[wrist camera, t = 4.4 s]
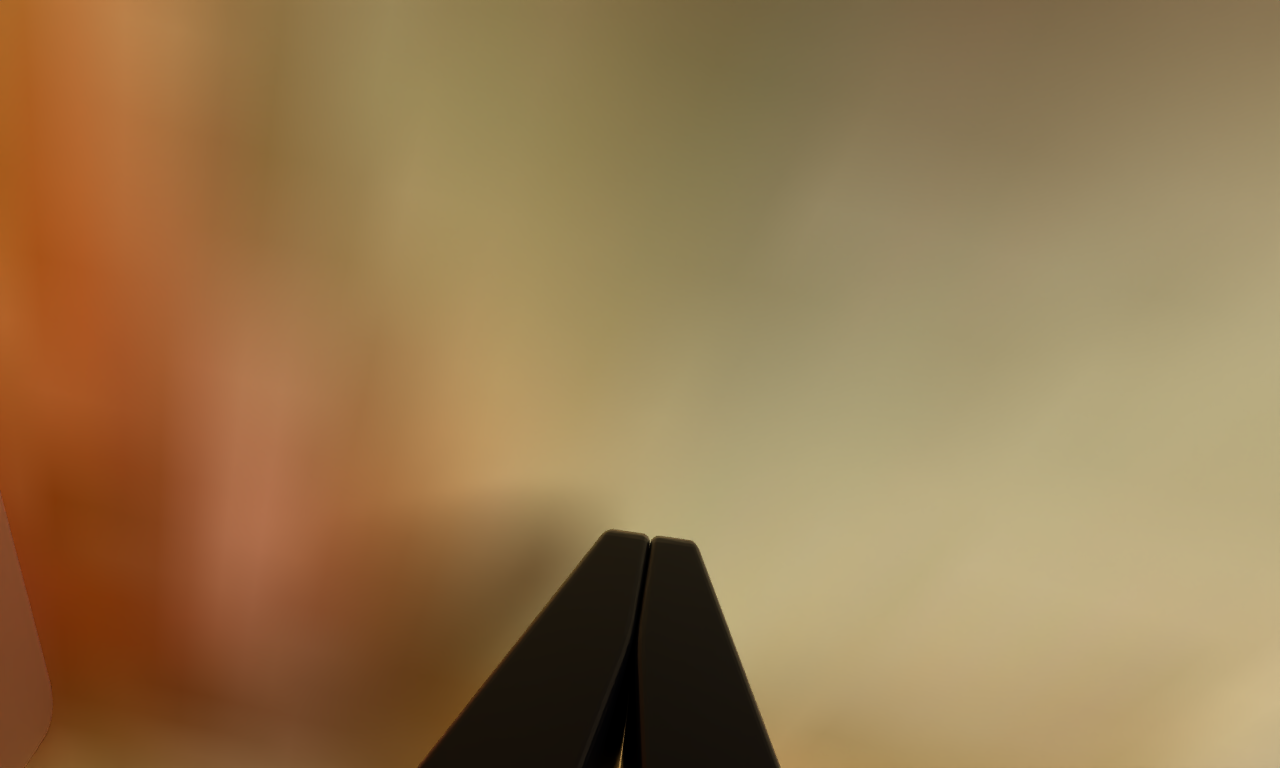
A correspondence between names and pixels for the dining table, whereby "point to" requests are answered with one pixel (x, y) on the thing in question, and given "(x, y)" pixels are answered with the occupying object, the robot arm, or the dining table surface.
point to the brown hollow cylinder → (19, 663)
